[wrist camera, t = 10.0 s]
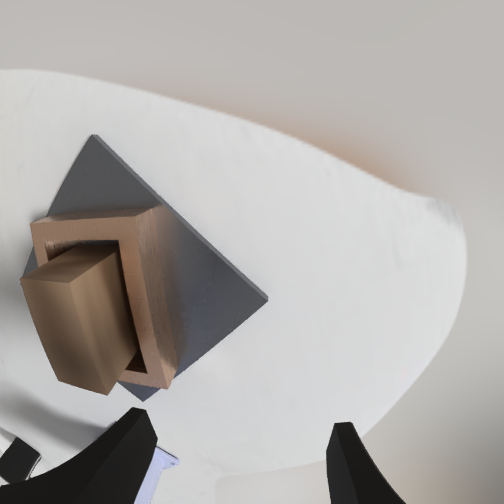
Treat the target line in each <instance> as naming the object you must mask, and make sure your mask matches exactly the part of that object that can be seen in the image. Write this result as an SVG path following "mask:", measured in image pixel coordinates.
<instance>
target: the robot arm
mask: <svg viewBox="0 0 504 504" xmlns="http://www.w3.org/2000/svg"><path fill="white" fill-rule="evenodd" d="M157 440H158V438H157V436H156V433H155V431H154V429H153V426H152V424H151V421H150V419H149V417H148V414H147V411H146V410H144V409H139V408H135V407H132V408H131V409H130V410H129V411H128V412H126V413H125V414H124V415H123V416H122V417H121V418H120V419H119V420H118V421H117V422H116V423H115V424H114V425H113V426H111V427H110V428H109V429H108V430H107V431H106V432H105V433H104V434H102V435H101V436H100V437H99V438H98V439H96V440H95V441H94V442H93V443H92V444H91V445H89V446H88V447H87V448H85V449H84V450H83V451H81V452H80V453H79V454H77V455H76V456H74V457H73V458H71V459H70V460H68V461H66V462H65V463H63V464H61V465H60V466H58V467H56V468H54V469H52V470H50V471H48V472H46V473H43V474H41V475H38V476H35V477H33V478H30V479H27V480H24V481H20V482H16V483H12V484H7V485H1V487H0V504H150V503H151V500H152V498H153V495H154V492H155V489H156V486H157V484H158V481H159V478H160V475H161V472H162V470H164V469H167V468H170V467H173V466H176V465H178V464H179V463H180V461H179V460H178V459H176V458H174V457H173V456H171V455H169V454H168V453H166V452H164V451H162V450H161V449H159V448H158V447H156V444H157ZM326 461H327V478H328V485H329V492H330V499H331V504H406V503H405V502H404V501H403V500H402V499H401V498H400V497H399V495H398V494H397V493H396V492H395V491H394V490H393V488H392V487H391V486H390V485H389V483H388V482H387V481H386V479H385V478H384V477H383V475H382V474H381V472H380V471H379V469H378V468H377V466H376V465H375V463H374V462H373V460H372V459H371V457H370V455H369V454H368V452H367V450H366V449H365V447H364V445H363V443H362V442H361V439H360V438H359V436H358V434H357V432H356V430H355V428H354V425H353V423H351V422H342V423H334V427H333V430H332V434H331V437H330V440H329V444H328V447H327V450H326Z"/></svg>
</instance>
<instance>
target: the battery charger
mask: <svg viewBox="0 0 504 504" xmlns="http://www.w3.org/2000/svg"><path fill="white" fill-rule="evenodd" d="M40 459H41V455H40V454H39V453H38V452H36V451H35V450H34V449H32V448H31V447H30V446H28V445H27V444H26V443H24V442H23V441H22V440H20V439H19V438H17V437H16V438H15V440H14V441H13V443H12V444H11V445H10V447H9V448H8V449H7V450H6V451H5V453H4V454H3V455H2V457H1V458H0V477H1V478H2V479H4V480H5V481H6V482H7V483H8V484H12V483H16V482H20V481H24V480H27V479H30V478H31V477H30V475H31V473H32V471H33V470H34V468H35V466H36V465H37V463H38V462H39V461H40Z"/></svg>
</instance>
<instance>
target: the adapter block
mask: <svg viewBox="0 0 504 504" xmlns="http://www.w3.org/2000/svg"><path fill="white" fill-rule="evenodd" d="M20 280H21V284H22V287H23V291H24V294H25V297H26V301H27V304H28V307H29V310H30V313H31V316H32V319H33V322H34V324H35V327H36V330H37V333H38V335H39V338H40V340H41V343H42V345H43V348H44V350H45V352H46V355H47V357H48V359H49V362H50V364H51V366H52V368H53V370H54V373H55V375H56V377H57V379H58V381H61V382H64V383H67V384H70V385H73V386H76V387H79V388H83V389H86V390H89V391H93V392H96V393H100V394H104V395H107V396H108V394H109V393H110V391H111V390H112V388H113V387H114V385H115V384H116V382H117V380H118V379H119V377H120V376H121V374H122V373H123V371H124V370H125V368H126V367H127V365H128V364H129V363H130V361H131V360H132V358H133V357H134V355H135V354H136V352H137V351H138V349H139V348H140V344H139V340H138V336H137V332H136V328H135V324H134V320H133V316H132V311H131V307H130V302H129V297H128V292H127V287H126V282H125V277H124V271H123V265H122V259H121V253H120V246H119V245H78V246H76V247H74V248H72V249H71V250H69V251H67V252H65V253H63V254H61V255H60V256H58V257H56V258H54V259H52V260H50V261H49V262H47V263H45V264H43V265H42V266H40V267H38V268H36V269H35V270H33V271H31V272H30V273H28V274H26V275H24V276H23V277H21V278H20Z"/></svg>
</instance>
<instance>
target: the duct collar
mask: <svg viewBox="0 0 504 504" xmlns="http://www.w3.org/2000/svg"><path fill="white" fill-rule="evenodd" d="M30 227H31V233H32V238H33V244H34V247H33V250H32V252H31V255H30V258H29V260H28V263H27V266H26V269H25V271H24V274H23V276H24V275H26V274H28V273H30V272H31V271H33V270H35V269H36V268H38V267H40V266H42V265H43V264H45V263H47V262H49V261H50V260H52V259H54V258H56V257H58V256H60V255H61V254H63V253H65V252H67V251H69V250H71V249H72V248H74V247H76V246H78V245H119V246H120V253H121V259H122V265H123V271H124V277H125V282H126V287H127V292H128V297H129V302H130V307H131V311H132V316H133V320H134V324H135V328H136V332H137V336H138V340H139V344H140V348H139V349H138V351H137V352H136V354H135V355H134V357H133V358H132V360H131V361H130V363H129V364H128V365H127V367H126V368H125V370H124V371H123V373H122V374H121V376H120V377H119V379H118V380H117V382H118V383H119V384H121V385H122V386H123V387H124V388H126V389H127V390H128V391H129V392H131V393H132V394H133V395H135V396H136V397H137V398H139V399H140V400H141V401H143V402H144V401H145V400H146V399H148V398H149V397H150V396H152V395H153V394H154V393H156V392H157V391H158V390H160V389H161V388H163V389H168V388H169V386H170V384H171V382H172V380H173V379H174V378H175V377H176V376H178V375H179V374H180V373H182V372H183V371H184V370H185V369H187V368H188V367H189V366H190V365H192V364H193V363H194V362H195V361H197V360H198V359H199V358H200V357H202V356H203V355H204V354H205V353H207V352H208V351H209V350H210V349H212V348H213V347H214V346H215V345H216V344H218V343H219V342H220V341H221V340H223V339H224V338H225V337H226V336H227V335H229V334H230V333H231V332H232V331H233V330H235V329H236V328H237V327H238V326H239V325H241V324H242V323H243V322H244V321H245V320H247V319H248V318H249V317H250V316H251V315H252V314H254V313H255V312H256V311H257V310H258V309H259V308H261V307H262V306H263V305H264V304H265V303H266V302H268V296H267V295H266V294H265V293H264V292H262V291H261V290H260V289H259V288H258V287H257V286H256V285H255V284H254V283H253V282H251V281H250V280H249V279H248V278H247V277H246V276H245V275H244V274H243V273H242V272H241V271H239V270H238V269H237V268H236V267H235V266H234V265H233V264H232V263H231V262H230V261H229V260H227V259H226V258H225V257H224V256H223V255H222V254H221V253H220V252H219V251H218V250H217V249H216V248H214V247H213V246H212V245H211V244H210V243H209V242H208V241H207V240H206V239H205V238H204V237H203V236H202V235H201V234H199V233H198V232H197V231H196V230H195V229H194V228H193V227H192V226H191V225H190V224H189V223H188V222H187V221H186V220H185V219H184V218H182V217H181V216H180V215H179V214H178V213H177V212H176V211H175V210H174V209H173V208H172V207H171V206H170V205H169V204H168V203H167V202H166V201H165V200H164V199H162V198H161V197H160V196H159V195H158V194H157V193H156V192H155V191H154V190H153V189H152V188H151V187H150V186H149V185H148V184H147V183H146V182H145V181H144V180H143V179H142V178H141V177H140V176H139V175H138V174H136V173H135V172H134V171H133V170H132V169H131V168H130V167H129V166H128V165H127V164H126V163H125V162H124V161H123V160H122V159H121V158H120V157H119V156H118V155H117V154H116V153H115V152H114V151H113V150H112V149H111V148H110V147H109V146H108V145H107V144H106V143H105V142H104V141H103V140H102V139H101V138H100V137H99V136H98V135H91V137H90V138H89V140H88V141H87V143H86V145H85V146H84V148H83V149H82V151H81V153H80V154H79V156H78V158H77V159H76V161H75V163H74V164H73V166H72V168H71V170H70V171H69V173H68V175H67V177H66V179H65V181H64V182H63V184H62V186H61V188H60V190H59V192H58V194H57V196H56V198H55V200H54V202H53V204H52V206H51V208H50V210H49V212H48V214H47V217H46V218H43V219H40V220H38V221H35V222H32V223H30ZM20 284H21V283H20ZM21 285H22V284H21Z"/></svg>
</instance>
